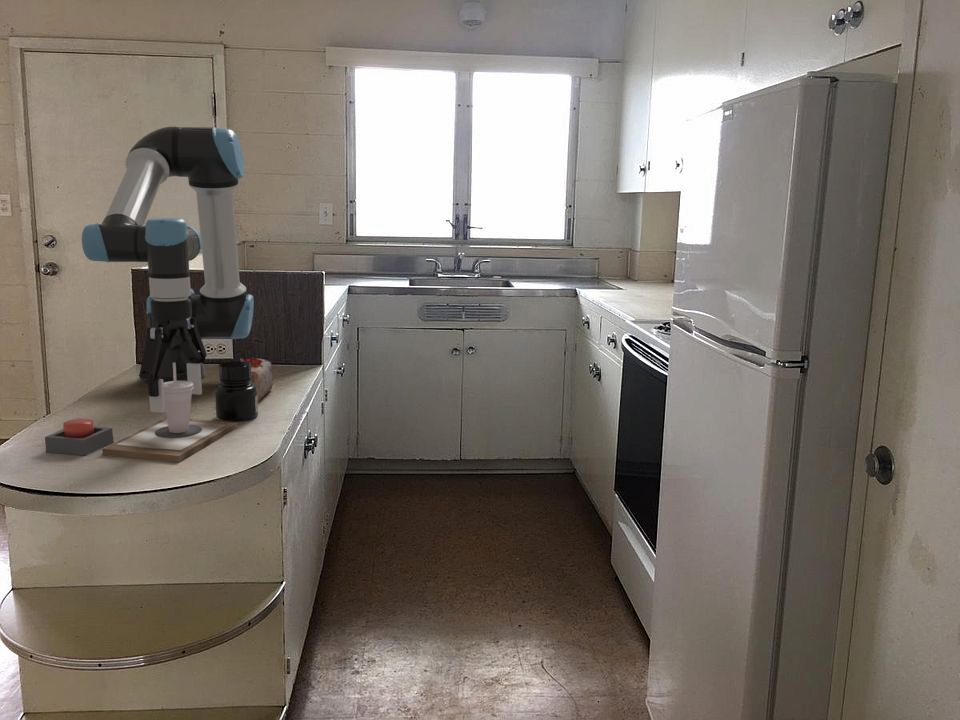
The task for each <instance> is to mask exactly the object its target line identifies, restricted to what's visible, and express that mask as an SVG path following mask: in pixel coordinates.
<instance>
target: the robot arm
mask: <svg viewBox="0 0 960 720" xmlns="http://www.w3.org/2000/svg"><path fill="white" fill-rule="evenodd" d="M244 164H245V161H244V154H243V150H242V146H241V143H240V140H239V137H238V135H237V134H236V132H235V131H233V130H232V129H230V128H222V127H221V128H220V127H216V126H215V127H208V126H207V127H205V126H204V127H202V126H201V127H194V126H190V127H189V126H188V127H187V126H165V127H161V128H158V129H155V130H153V131H151V132H149V133H148V134H146V135H144V136H143V137H142V138H141V139H139V140H138V141H137V142H136V143H135V144H134V145H133V146H132V147H131V149H130V150H129V152H128V154H127V156H126V159H125V169H126V170H125V173H124V175H123V177H122V179H121V182H119V183H120V184H119V185H118V188H117V191H116V192H115V194H114V197H113V198H112V201H111V203H110V206H109V207H108V210H107V213H106V214H105V217H104V218H103V221H102V222H101V223H95V224H94V223H93V224H87V225H85V226H84V228H83V229H82V232H81V233H82V234H81V247H82V250H83V254H84V256H85V257H86V258H87V260H89V261H91V262H106V263H108V264H109V263H147V269H148V271H147V272H148V284H149V296H148V297H147V298H146V312H145V313H146V320H147V321H146V322H147V328H146V341H145V345H144V350H143V355H142V361H141V364H140V369H139V375H138V376H139V377H138V378H139V379H141V380H144V381H145V382H147V387H148V388H147V390H148V396H149V397H148V398H149V408H150V409H149V410H150V412H151V413H160V414H161V413H162V414H163V413H166V411H165V399H164V384H163V383H165V382H169V381H174V379H173V363H174V362H175V363H176V381H189V382H192V383H193V387H194V388H193V389H192V395H199V396H201V395H202V394H203V387H202V379H203V378H205V376H206V371H205V366H204V363H206V361H207V359H206V358H207V350H206V348H205V346H204V342H203V340H208V339H209V340H230V341H231V340H236V339H245V338H247V337H248V336H249V334H250V332H251V330H252V325H253V317H254V306H255V304H254V303H255V300H254V295H252V294H250V293H247V287H246V285H244V284H243V283H242V282H240V280H241V279H240V271H239V270H240V268H239V256H238V255H239V254H238V243H237V234H236V232H237V231H236V217H235V204H234V203H235V202H234V190H235V189H236V188H237V187H238V186H239V180H240V179H242V178H244V176H245V165H244ZM171 177H181V178H182V177H183V178H187V179H188V186H189V187H190V188H191V189H192V190H193V191H194V192H195V193H196V201H197V202H196V204H197V205H196V206H197V212H198V224H199V231H198V230H197V229H196V228H194V227H192V226H191V225H187V221H186V220H185V219H183V218H178V217H177V218H175V217H159V218H158V217H157V218H156V217H155V218H153V217H152V218H149V219H147V218H148V215H149V213H150V210H151V208H152V206H153V203H154V201H155V198H156V195H157V193H158V190H159V188H160V185H162V184H164V183H165V182H166V181H167V180H168V178H171ZM200 253H201V254H202V264H203V274H204V284H203V286H202V287H201V288H199V294H195V291H194V290H193V289H192V288H191V287H192V286H191V275H190V262H191V261H192V260H194V259H196V258H197V256H198V255H200Z"/></svg>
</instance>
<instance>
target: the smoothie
mask: <svg viewBox="0 0 960 720" xmlns="http://www.w3.org/2000/svg"><path fill="white" fill-rule="evenodd" d="M173 379H174V381H169V382H165V383H163V384H164V399H165V416H166V418H167V422H168V427H169V432H172V433H182V432H186V431H188V430H189V419H191V418H190V417H191V404H192V395H193V394H192V389H193V388H194V387H193V383H192V382H189V381H176V363H175V362H174V363H173Z"/></svg>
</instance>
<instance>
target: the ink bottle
mask: <svg viewBox="0 0 960 720" xmlns="http://www.w3.org/2000/svg"><path fill="white" fill-rule="evenodd" d="M218 371H219V382H220V383H219V385H218V386H217V387H216V388H215V391H214V393H215V395H214V397H215V399H214V400H215V414H216V415H215V416H216V418H217V419H218V420H219V421H220V420H221V421H223V422H242V421H243V422H245V421H248V420H252V419H254V418H256V417H257V416H258V414H259V407H258V406H259V402H258V398H257V388H256V386H255V385H253V384H252V382H250V381H251V379H252V378H251V363H249V362H244V361H240V360H237V361H235V360H233V361H225V362H222V363H219V365H218Z"/></svg>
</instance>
